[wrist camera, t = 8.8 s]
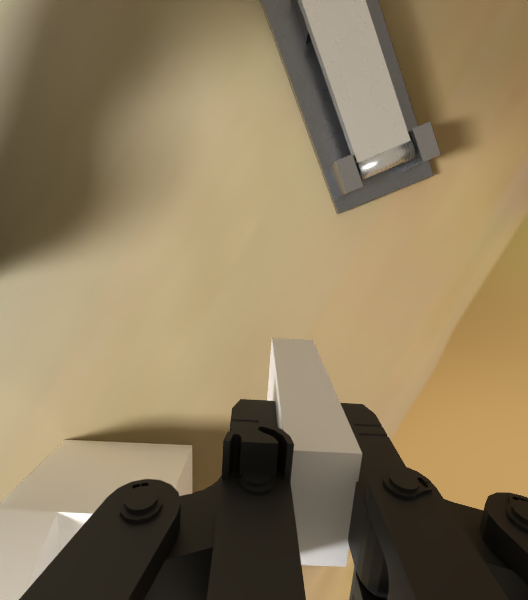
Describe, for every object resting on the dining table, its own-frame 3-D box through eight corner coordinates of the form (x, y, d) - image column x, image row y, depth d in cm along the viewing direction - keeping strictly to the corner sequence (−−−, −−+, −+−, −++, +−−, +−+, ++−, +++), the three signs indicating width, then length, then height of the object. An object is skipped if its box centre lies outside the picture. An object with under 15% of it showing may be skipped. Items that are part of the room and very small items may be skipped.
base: (429, 176, 38) (465, 163, 31) (337, 214, 39) (351, 209, 32) (350, -74, 35) (369, -154, 27) (250, -26, 36) (244, -92, 28)
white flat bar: (410, 160, 35) (417, 156, 33) (359, 181, 36) (364, 178, 34) (345, -39, 32) (349, -55, 31) (291, -14, 33) (292, -28, 31)
